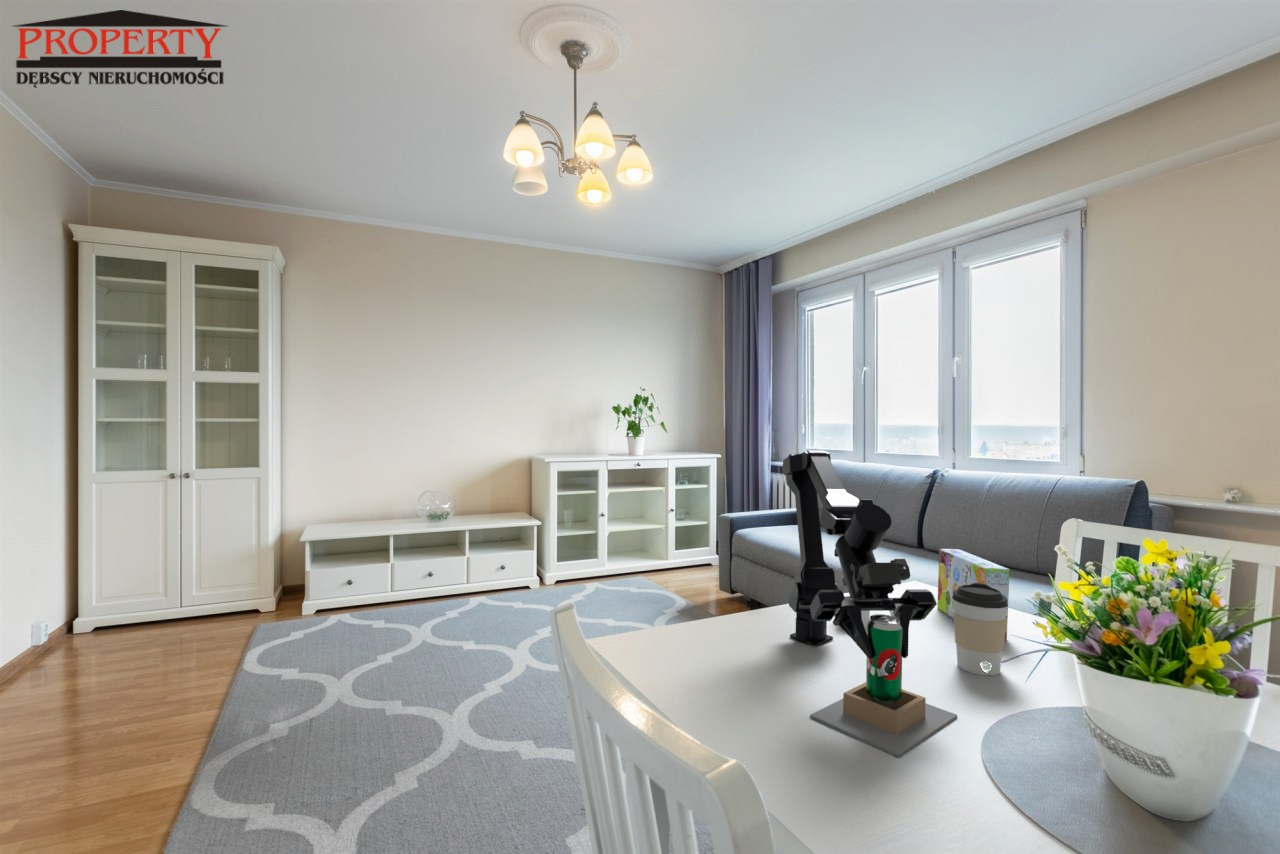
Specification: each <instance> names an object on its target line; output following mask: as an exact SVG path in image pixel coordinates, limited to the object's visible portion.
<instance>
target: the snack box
mask: <svg viewBox="0 0 1280 854" xmlns="http://www.w3.org/2000/svg"><path fill="white" fill-rule="evenodd" d="M937 573H938V580H937V605H936V606H937V609H938V610H940V611H941V612H942V613H944V614H945V615H947V616H948V617H950V618H952V619H953V620H954V614H953V610H954V600H953V598H952V596H953V591H955V590H958V588H959V586H961V585H970V584H973V583H980V584H986V585H988V586H990V587H991V588H994V589H997V590H999V591H1000V592H1001V594H1002V595H1003V596H1005V597H1006V598H1007V599H1008V601H1007V603H1008V604H1009V594H1010V593H1009V591H1010V568H1008V567H1005V566H1002V565H1000V564H997V563H996V562H992V561H990V560H988V559H985V558H982V557H980V556H978V555H974V554H971V553H970V552H966V551H965V550H961V549H959V548H955V549H954V548H939V549H938V572H937ZM1008 617H1009V605H1008V606H1007V607H1006V628H1005V638H1004V640H1007V639H1008V637H1007V636H1008V620H1009V619H1008Z"/></svg>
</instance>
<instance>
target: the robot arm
mask: <svg viewBox="0 0 1280 854" xmlns="http://www.w3.org/2000/svg"><path fill="white" fill-rule="evenodd" d="M831 461H832V460H831V454H830V452H828V451H826V450H807V451H803V452H801V453H789V455H787V457H785V458H783V461H782V473H783V474H784V475H785V483H786V485H787V486H788V488H789V489H790V490H791V492H792V493H793V494H794V496H795V498H794V499H795V509H796V520H797V532H798V544H799V552H800V553H799V554H800V564H799V566H798V568H797V570H796V572H795V574H794V578H793V579H794V582H793V584H792V587H791V589H790V591H789V593H788V596H787V597H788V605H789V607H790V608H791V609H792V610H793V612H794V613H796V617H795V632H793V633H790V634H789V637H790V638H791V639H795V640H796V641H800V642H803V643H805V644H809V645H812V646H815V647H816V646H819V645H822V644H824V643H827V642H829V641H831V640H834V637H833V636H832V635H829V634H827V632H828V631H827V628H828V627H827V626H828V624H827V622H831V621H832V620H833V621H832V624H833V626H838V627H840V629H841V630H843V631H844V633H845V634H846V635H848V636H849V637H850V639H852V640H853V642H854V643H855V644H856V646H858V647H859V649H860V650H861V652H862V653H863V654H864V655H865V656H866V658H867V657H868V658H869V659H871V658H872V657H873V653H872V648H871V644H870V642H869V639H868V636H867V629H865V627H864V625H863V622H862V616H861V611H871V612H873V611H880V612H881V611H883V612H884V611H885V612H886V611H888V612H889V614H890V616H893V617H896V618H898V619H899V620H900V624H901V626H902V627H903V647H902V659H906V658H908V656H909V633H910V631H909V630H910V629H909V628H910V622H912V621H922V620H925V619H926V618H927V617H928V615H930V614H931V612H932V611H933V610H934V608H935V607H936V606H937V604H938V602H937V600H936V598H935V596H934V594H933V593H932V592H931V591H930V590H928V589H926V588H925V589H919V588H918V589H917V588H916V589H914V588H913V589H905V591H904V592H903V594H902V595H901V596H900V597H889V594H892V593H894V590H895V588H894V586H895V585H901V584H902V581H904V582H905V581H906V580H908V579H910V577H911V572H910V566H909V565H908V562H907V561H906V559H905V558H894V559H891V560H890V561H889V562H877V560H876V557H875V554H874V550H876V549H878V548H879V547H880V545H881V543H882V541H883V539H884V538H885V537H886V534H887V533H888V531H889V529H890V528H891V526H892V521H893V520H892V517H891V515H890V514H889V513H888V512H887V511H886V510H885V509H884V508H883V507H881V506H878V505H877V504H874V501H873V500H872V499H869V498H866V499H865V498H860V499H859V498H858V497H856V496H854V495H853V494H851V493H848V492H847V490H846V489H845V486H844V484H843V483H842V481H841V478H840V477H839V475H838V474H837V471H836V469H835V467H834V466H833V463H832V462H831ZM818 497H819V500H820V502H821V505H822V508H821V512H820V509H819V500H818ZM821 527H822V529H824V531H825V533H826V534H827V535H829V536H840V537H838V538H837V540H836V542H835V544H834V547H835V549H834V552H833V553H834V554H833V555H834V557H836V558H838V560H839V564H840V567H841V570H842V573H843V578H842V585H843V586H846V587H847V591H848V594H850V596H844V594H843V593H844V591H842V590H841V589H839V587H838V585H837V583H836V578H835V577H836V576H835V571H834V568H832V567H830V566H828V564H827V562H825V557H824V549H823V548H824V547H823V539H822V538H823V536H822V529H821Z"/></svg>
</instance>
